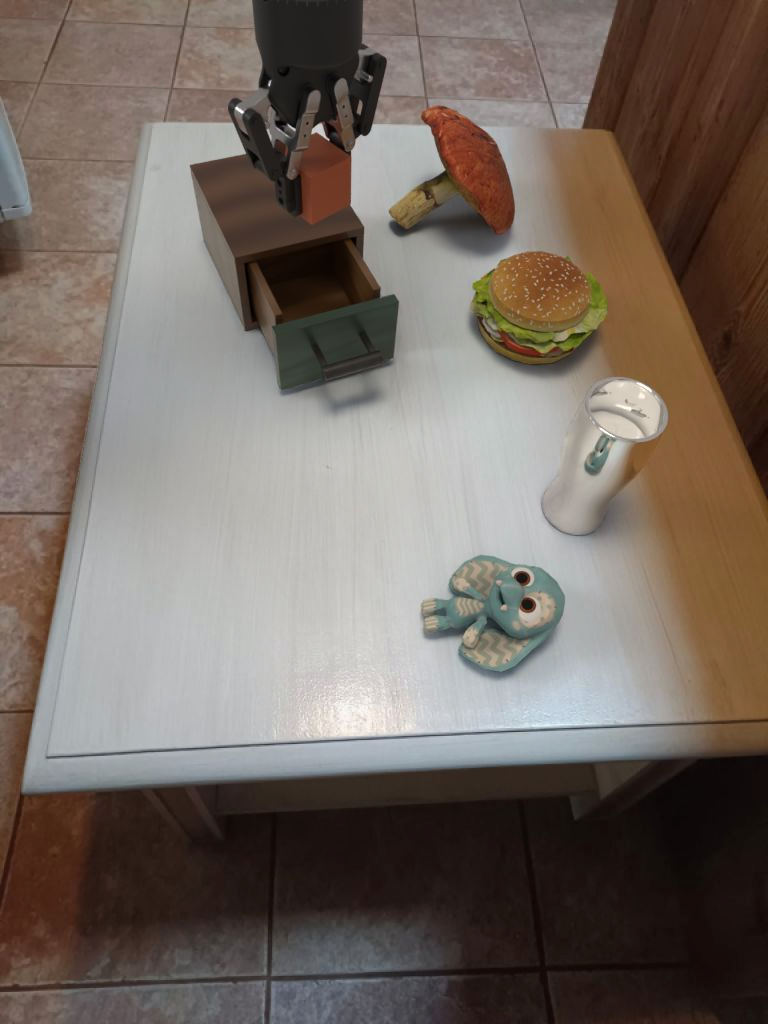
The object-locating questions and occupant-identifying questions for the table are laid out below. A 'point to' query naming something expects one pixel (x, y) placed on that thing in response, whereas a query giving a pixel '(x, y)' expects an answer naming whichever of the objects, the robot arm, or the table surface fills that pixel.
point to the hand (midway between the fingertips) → (314, 198)
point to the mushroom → (461, 173)
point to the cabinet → (255, 224)
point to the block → (324, 179)
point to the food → (537, 307)
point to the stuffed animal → (498, 610)
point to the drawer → (321, 313)
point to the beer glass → (603, 452)
